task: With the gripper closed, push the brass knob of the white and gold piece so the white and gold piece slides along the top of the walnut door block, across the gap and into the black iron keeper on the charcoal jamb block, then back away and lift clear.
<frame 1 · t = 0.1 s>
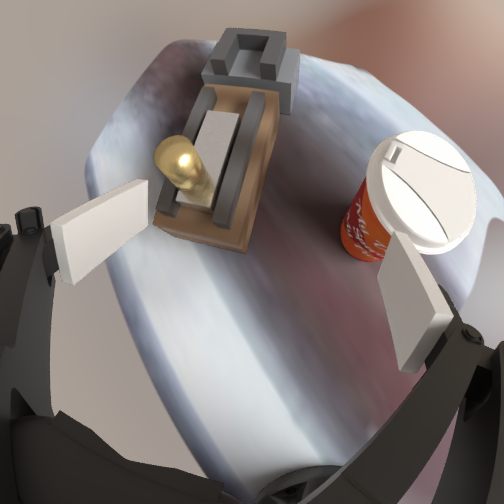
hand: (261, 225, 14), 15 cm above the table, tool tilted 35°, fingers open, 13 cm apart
coffee cup: (366, 234, 29), on the table
door: (235, 152, 32), on the table
white and gold piece: (202, 141, 21), point 10 cm above the table, slide at 0.0 cm
jamb: (252, 69, 29), on the table
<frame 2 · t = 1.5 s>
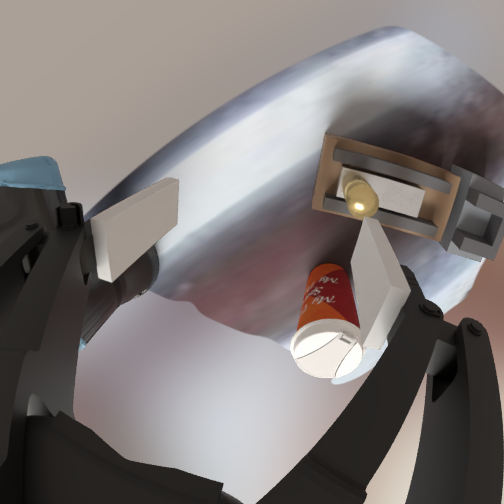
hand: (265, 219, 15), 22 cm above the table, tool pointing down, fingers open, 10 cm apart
coffee cup: (328, 280, 41), on the table
door: (401, 185, 32), on the table
white and gold piece: (387, 198, 24), point 10 cm above the table, slide at 0.0 cm
jamb: (472, 215, 28), on the table
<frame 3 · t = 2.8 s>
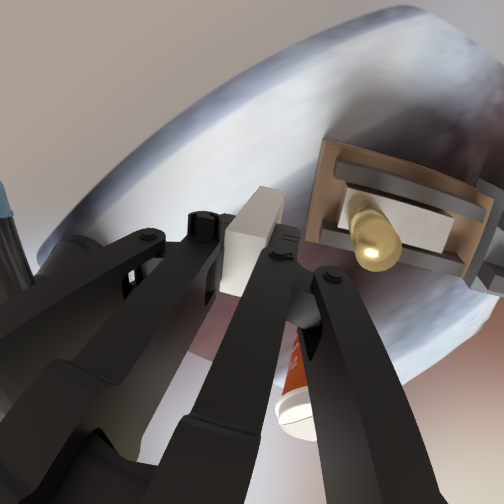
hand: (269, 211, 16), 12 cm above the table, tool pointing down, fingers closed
coffee cup: (324, 316, 34), on the table
door: (417, 204, 26), on the table
white and gold piece: (407, 233, 17), point 10 cm above the table, slide at 0.0 cm
jamb: (501, 243, 21), on the table
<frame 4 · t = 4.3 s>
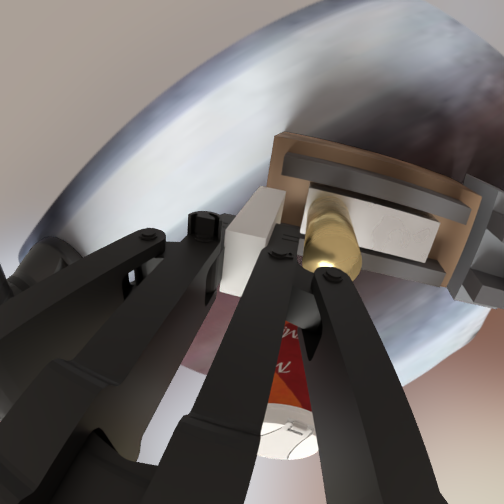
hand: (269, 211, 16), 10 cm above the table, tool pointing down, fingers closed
coffee cup: (295, 324, 32), on the table
door: (394, 203, 24), on the table
white and gold piece: (379, 241, 15), point 10 cm above the table, slide at 0.8 cm, touching gripper
jamb: (492, 247, 19), on the table
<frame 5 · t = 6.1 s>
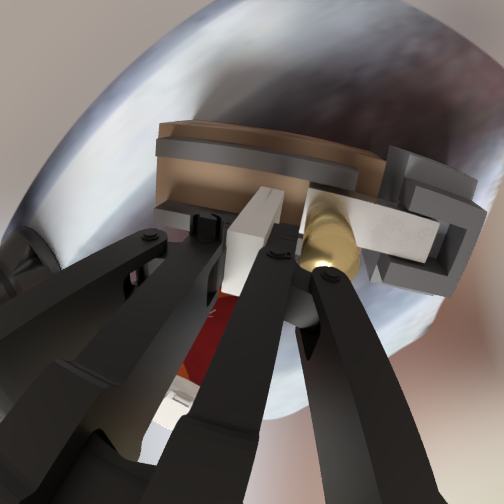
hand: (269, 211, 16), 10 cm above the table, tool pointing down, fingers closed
coffee cup: (224, 307, 33), on the table
door: (305, 181, 25), on the table
white and gold piece: (378, 241, 15), point 10 cm above the table, slide at 9.2 cm, touching gripper
jamb: (419, 224, 20), on the table
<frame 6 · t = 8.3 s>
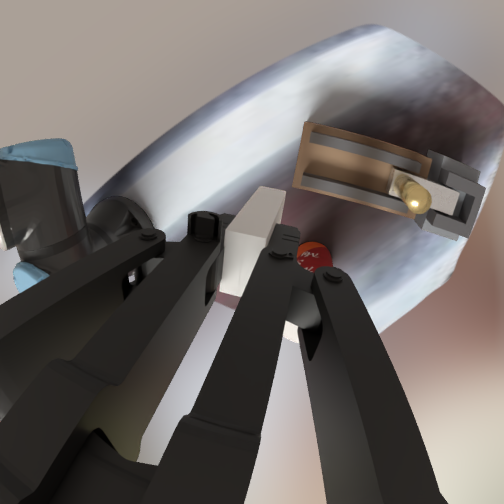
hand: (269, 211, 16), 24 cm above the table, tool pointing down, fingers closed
coffee cup: (312, 258, 44), on the table
door: (378, 169, 36), on the table
white and gold piece: (432, 198, 26), point 10 cm above the table, slide at 9.0 cm
jamb: (447, 196, 31), on the table
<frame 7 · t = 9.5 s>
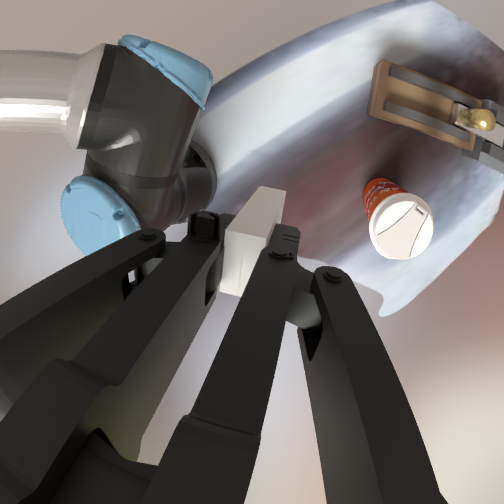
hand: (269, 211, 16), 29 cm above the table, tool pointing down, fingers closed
coffee cup: (379, 195, 42), on the table
door: (435, 112, 34), on the table
white and gold piece: (489, 127, 24), point 10 cm above the table, slide at 9.0 cm
jamb: (493, 136, 29), on the table
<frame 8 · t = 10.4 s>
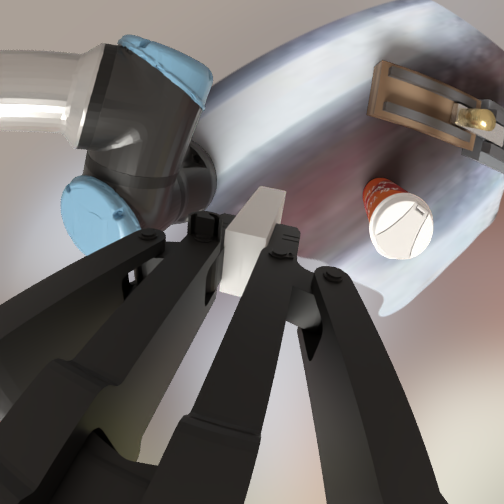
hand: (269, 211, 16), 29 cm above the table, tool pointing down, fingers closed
coffee cup: (379, 195, 42), on the table
door: (435, 112, 34), on the table
white and gold piece: (489, 127, 24), point 10 cm above the table, slide at 9.0 cm
jamb: (493, 136, 29), on the table
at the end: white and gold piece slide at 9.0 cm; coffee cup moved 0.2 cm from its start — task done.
